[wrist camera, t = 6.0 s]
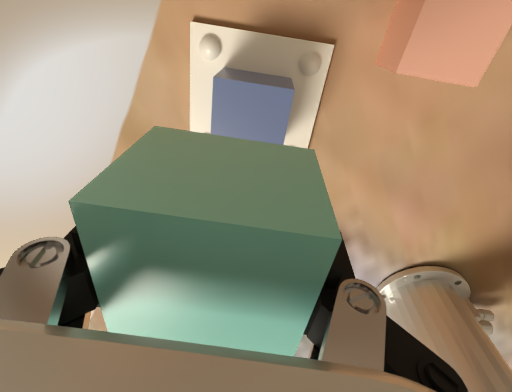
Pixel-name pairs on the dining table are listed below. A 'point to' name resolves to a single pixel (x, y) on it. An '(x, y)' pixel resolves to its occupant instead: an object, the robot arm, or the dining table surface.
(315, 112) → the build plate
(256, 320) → the teal brick
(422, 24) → the coral brick
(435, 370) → the robot arm
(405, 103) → the dining table surface
